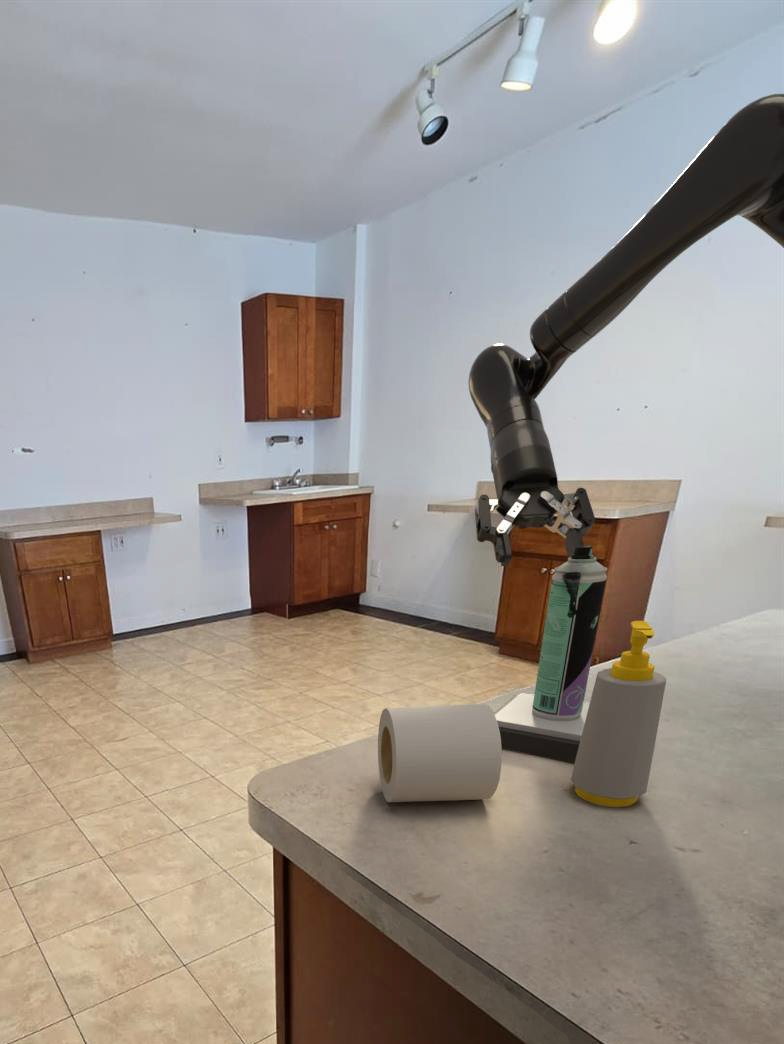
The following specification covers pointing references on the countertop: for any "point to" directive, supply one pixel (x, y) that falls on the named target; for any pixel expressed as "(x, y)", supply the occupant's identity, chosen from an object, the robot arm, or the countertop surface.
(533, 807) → the countertop surface
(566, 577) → the spray can
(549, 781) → the countertop surface
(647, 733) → the soap bottle
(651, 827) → the countertop surface
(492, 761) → the toilet paper
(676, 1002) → the countertop surface
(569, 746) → the scale
